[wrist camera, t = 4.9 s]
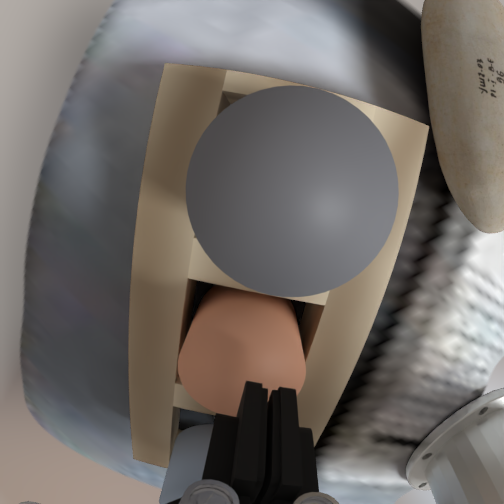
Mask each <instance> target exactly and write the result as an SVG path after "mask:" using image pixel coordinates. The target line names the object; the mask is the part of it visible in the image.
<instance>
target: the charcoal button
mask: <svg viewBox="0 0 504 504" xmlns="http://www.w3.org/2000/svg"><path fill="white" fill-rule="evenodd" d="M398 197H399V188H398V176H397V171H396V166H395V162H394V159H393V156H392V153H391V151H390V149H389V147H388V145H387V142H386V140H385V139H384V137H383V136H382V134H381V133H380V131H379V129H378V128H377V127H376V126H375V125H374V123H373V122H372V121H371V120H370V119H369V118H368V117H367V116H366V115H365V114H364V113H363V112H362V111H361V110H360V109H358V108H357V107H356V106H354V105H353V104H351V103H350V102H348V101H347V100H345V99H343V98H341V97H339V96H337V95H335V94H333V93H330V92H327V91H324V90H321V89H317V88H312V87H307V86H293V85H289V86H277V87H272V88H267V89H263V90H259V91H257V92H254V93H251V94H249V95H247V96H245V97H243V98H241V99H239V100H237V101H236V102H234V103H233V104H231V105H230V106H228V107H227V108H226V109H224V110H223V111H222V112H221V113H220V114H219V115H218V116H217V117H216V118H215V119H214V120H213V121H212V122H211V123H210V124H209V126H208V127H207V128H206V130H205V131H204V132H203V134H202V136H201V137H200V139H199V141H198V143H197V144H196V147H195V149H194V151H193V154H192V156H191V159H190V163H189V167H188V171H187V178H186V205H187V211H188V216H189V219H190V223H191V226H192V229H193V231H194V233H195V236H196V238H197V240H198V242H199V244H200V245H201V247H202V248H203V250H204V252H205V253H206V254H207V255H208V257H209V258H210V259H211V260H212V262H213V263H214V264H215V265H216V266H217V267H218V268H219V269H220V270H221V271H223V272H224V273H225V274H226V275H228V276H229V277H230V278H232V279H233V280H235V281H236V282H238V283H240V284H242V285H244V286H245V287H248V288H250V289H253V290H255V291H258V292H261V293H265V294H268V295H273V296H280V297H304V296H312V295H316V294H320V293H324V292H327V291H329V290H332V289H335V288H337V287H339V286H341V285H343V284H345V283H346V282H348V281H350V280H351V279H353V278H354V277H355V276H357V275H358V274H360V273H361V272H362V271H363V270H364V269H365V268H366V267H367V266H368V265H369V264H370V263H371V262H372V261H373V260H374V259H375V257H376V256H377V255H378V253H379V252H380V250H381V249H382V247H383V246H384V244H385V243H386V241H387V239H388V236H389V234H390V232H391V230H392V227H393V224H394V221H395V217H396V212H397V207H398Z"/></svg>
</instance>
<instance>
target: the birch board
mask: <svg viewBox="0 0 504 504" xmlns="http://www.w3.org/2000/svg"><path fill="white" fill-rule="evenodd" d="M289 85H293V86H307V85H303V84H298V83H294V82H290V81H285V80H281V79H276V78H271V77H266V76H261V75H256V74H250V73H244V72H238V71H232V70H225V69H218V68H210V67H202V66H193V65H183V64H171V63H165V65H164V69H163V73H162V77H161V81H160V86H159V90H158V94H157V99H156V103H155V108H154V113H153V117H152V122H151V127H150V133H149V138H148V143H147V149H146V155H145V161H144V167H143V173H142V180H141V187H140V194H139V201H138V209H137V218H136V227H135V236H134V246H133V258H132V271H131V286H130V306H129V344H128V367H129V404H130V423H131V437H132V449H133V459H135V460H139V461H142V462H146V463H149V464H153V465H156V466H160V467H164V468H168V465H169V461H170V458H171V454H172V451H173V447H174V443H175V440H176V438H177V436H178V435H179V434H180V433H181V432H182V431H184V430H180V429H178V427H179V417H180V408H183V409H187V410H192V411H196V412H201V413H206V414H210V415H216V413H215V412H213V411H211V410H209V409H207V408H205V407H203V406H202V405H201V404H199V403H198V402H196V401H195V400H194V399H193V398H192V397H191V396H190V395H189V394H188V392H187V391H186V390H185V388H184V387H183V384H182V382H181V380H180V377H179V373H178V359H179V355H180V352H181V349H182V347H183V344H184V342H185V339H186V336H187V334H188V331H189V329H190V326H191V319H192V312H193V305H194V298H195V291H196V285H197V280H198V281H203V282H208V283H212V284H217V285H222V286H227V287H231V288H236V289H241V290H246V291H251V292H256V293H261V292H258V291H255V290H253V289H250V288H248V287H245V286H244V285H242V284H240V283H238V282H236V281H235V280H233V279H232V278H230V277H229V276H228V275H226V274H225V273H224V272H223V271H221V270H220V269H219V268H218V267H217V266H216V265H215V264H214V263H213V262H212V260H211V259H210V258H209V257H208V255H207V254H206V253H205V252H204V250H203V248H202V247H201V245H200V244H199V242H198V240H197V238H196V236H195V233H194V231H193V229H192V226H191V223H190V219H189V216H188V211H187V205H186V178H187V171H188V167H189V163H190V159H191V156H192V154H193V151H194V149H195V147H196V144H197V143H198V141H199V139H200V137H201V136H202V134H203V132H204V131H205V130H206V128H207V127H208V126H209V124H210V123H211V122H212V121H213V120H214V119H215V118H216V117H217V116H218V115H219V114H220V113H221V112H222V111H223V110H224V109H226V108H227V107H228V106H230V104H233V103H234V102H236V101H237V100H239V99H241V98H243V97H245V96H247V95H249V94H251V93H254V92H257V91H259V90H263V89H267V88H272V87H277V86H289ZM307 87H311V86H307ZM312 88H315V87H312ZM317 89H318V88H317ZM321 90H322V89H321ZM324 91H326V90H324ZM327 92H330V91H327ZM330 93H333V92H330ZM333 94H335V95H337V96H339V97H341V98H343V99H345V100H347V101H348V102H350V103H351V104H353V105H354V106H356V107H357V108H358V109H360V110H361V111H362V112H363V113H364V114H365V115H366V116H367V117H368V118H369V119H370V120H371V121H372V122H373V123H374V125H375V126H376V127H377V128H378V129H379V131H380V133H381V134H382V136H383V137H384V139H385V140H386V142H387V145H388V147H389V149H390V151H391V153H392V156H393V159H394V162H395V166H396V171H397V176H398V188H399V197H398V207H397V212H396V217H395V221H394V224H393V227H392V230H391V232H390V234H389V236H388V239H387V241H386V243H385V244H384V246H383V247H382V249H381V250H380V252H379V253H378V255H377V256H376V257H375V259H374V260H373V261H372V262H371V263H370V264H369V265H368V266H367V267H366V268H365V269H364V270H363V271H362V272H361V273H360V274H358V275H357V276H355V277H354V278H353V279H351V280H350V281H348V282H346V283H345V284H343V285H341V286H339V287H337V288H335V289H332V290H329V291H327V292H324V293H320V294H316V295H312V296H304V297H282V298H287V299H292V300H297V301H303V302H306V306H305V309H304V312H303V315H302V319H301V322H300V325H299V333H300V338H301V343H302V349H303V354H304V359H305V364H306V376H305V381H304V384H303V386H302V389H301V391H300V392H299V393H298V395H297V406H298V418H299V427H305V428H311V429H312V433H313V441H314V446H315V445H316V443H317V441H318V439H319V437H320V435H321V434H322V432H323V430H324V428H325V426H326V424H327V422H328V421H329V419H330V417H331V415H332V413H333V411H334V409H335V407H336V405H337V403H338V401H339V399H340V397H341V395H342V393H343V391H344V389H345V387H346V384H347V382H348V380H349V378H350V376H351V374H352V372H353V369H354V367H355V365H356V363H357V360H358V358H359V356H360V354H361V351H362V349H363V347H364V344H365V342H366V339H367V337H368V335H369V332H370V330H371V327H372V325H373V322H374V320H375V317H376V314H377V312H378V309H379V307H380V304H381V301H382V298H383V296H384V293H385V290H386V287H387V285H388V282H389V279H390V276H391V273H392V270H393V267H394V264H395V261H396V258H397V255H398V251H399V248H400V245H401V242H402V238H403V235H404V232H405V228H406V225H407V221H408V218H409V214H410V210H411V207H412V203H413V199H414V195H415V191H416V187H417V183H418V178H419V174H420V170H421V165H422V160H423V156H424V151H425V146H426V141H427V135H428V130H429V126H428V125H425V124H423V123H420V122H418V121H415V120H413V119H410V118H408V117H405V116H403V115H400V114H397V113H395V112H392V111H389V110H386V109H384V108H381V107H378V106H375V105H372V104H369V103H366V102H363V101H360V100H357V99H353V98H350V97H347V96H344V95H340V94H337V93H333ZM261 294H265V293H261ZM266 295H268V294H266ZM271 296H273V295H271ZM276 297H280V296H276Z"/></svg>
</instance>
